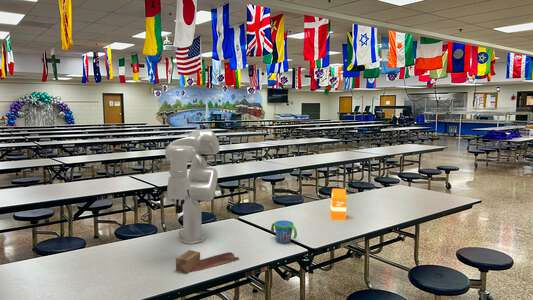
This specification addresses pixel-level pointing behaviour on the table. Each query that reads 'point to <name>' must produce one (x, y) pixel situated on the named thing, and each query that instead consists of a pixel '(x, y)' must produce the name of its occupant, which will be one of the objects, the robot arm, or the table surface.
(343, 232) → the table surface
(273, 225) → the snack cup
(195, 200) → the robot arm
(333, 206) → the orange juice
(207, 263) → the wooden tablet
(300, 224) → the table surface
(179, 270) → the walnut block
